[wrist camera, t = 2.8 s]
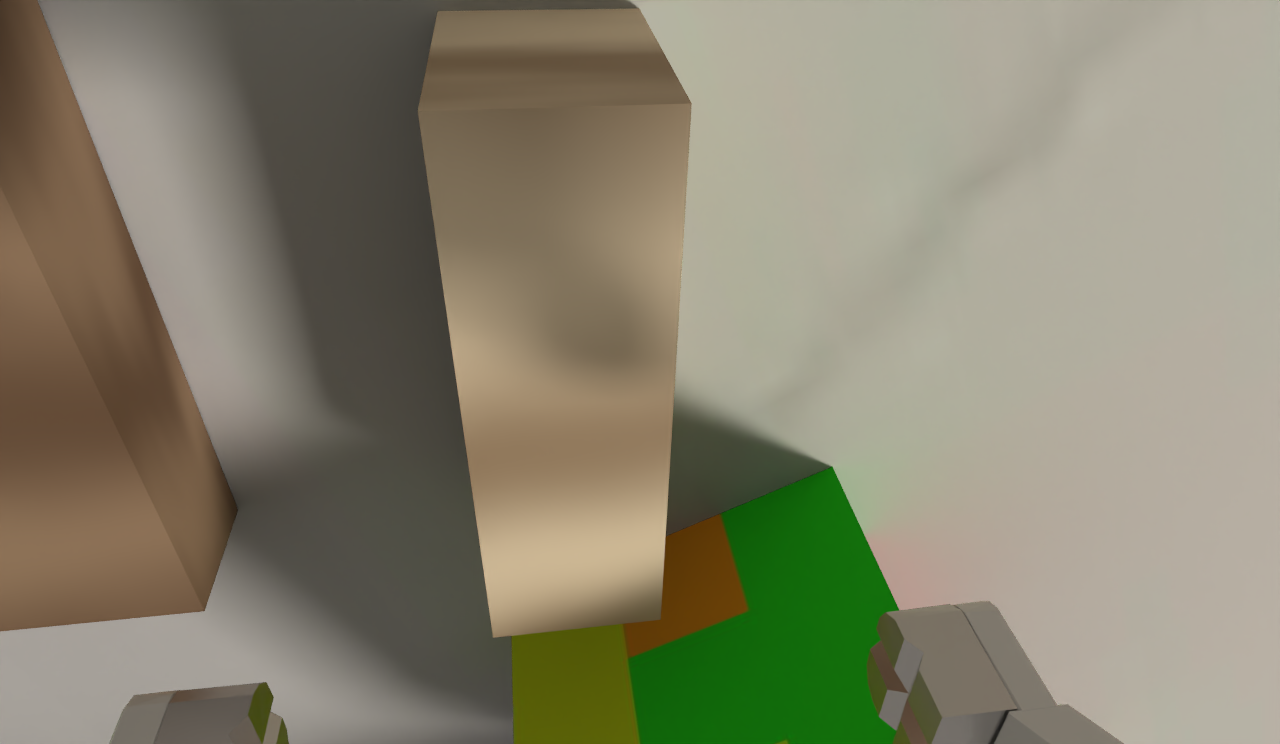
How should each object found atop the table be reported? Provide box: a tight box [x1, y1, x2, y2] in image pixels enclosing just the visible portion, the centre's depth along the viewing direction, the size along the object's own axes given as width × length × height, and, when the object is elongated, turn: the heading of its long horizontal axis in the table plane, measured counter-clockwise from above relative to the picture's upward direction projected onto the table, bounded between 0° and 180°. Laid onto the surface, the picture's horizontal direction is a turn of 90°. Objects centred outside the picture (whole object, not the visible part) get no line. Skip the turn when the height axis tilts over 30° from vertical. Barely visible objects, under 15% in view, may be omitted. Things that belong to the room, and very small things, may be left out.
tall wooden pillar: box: [418, 8, 692, 638], centre depth 16 cm, size 11×4×5 cm, turn 179°
